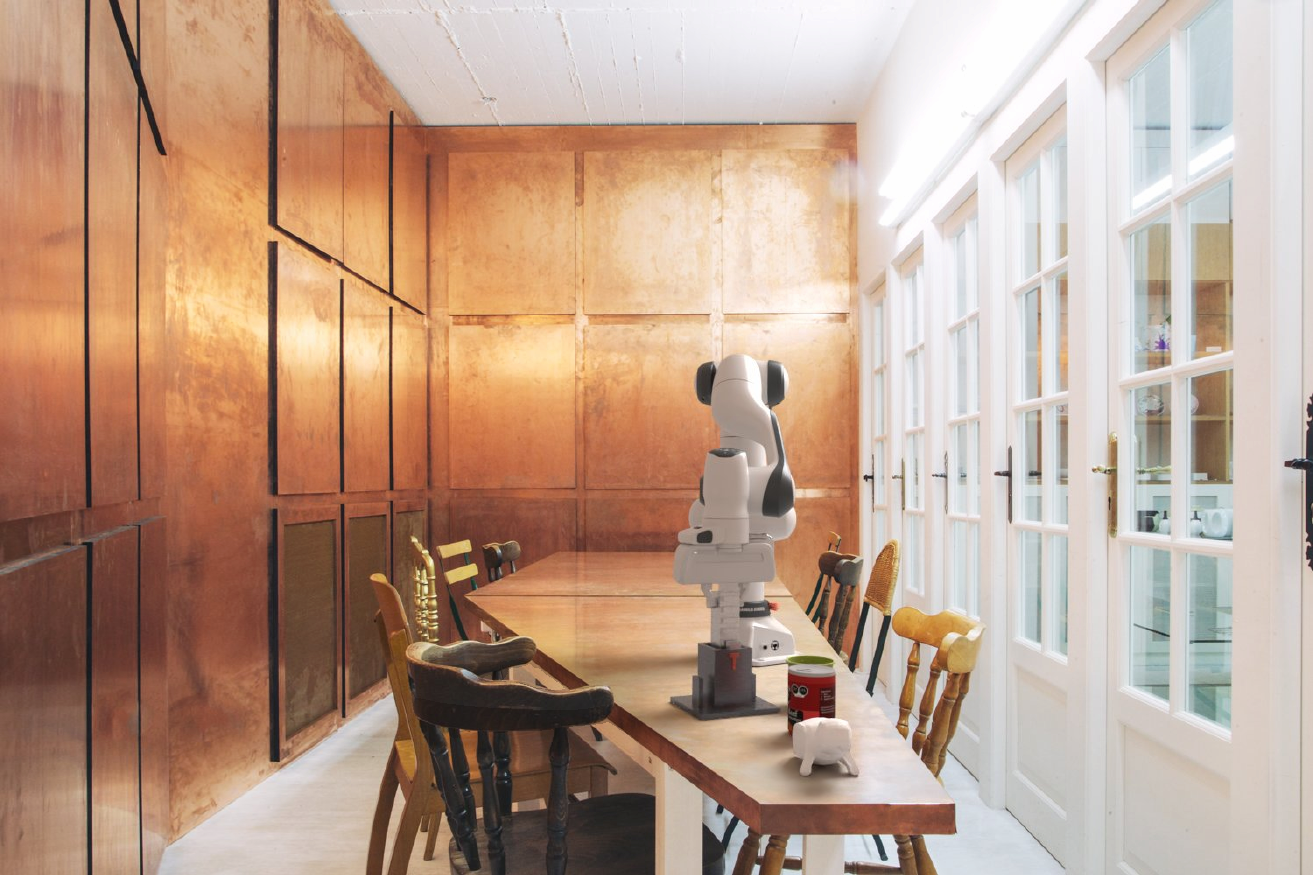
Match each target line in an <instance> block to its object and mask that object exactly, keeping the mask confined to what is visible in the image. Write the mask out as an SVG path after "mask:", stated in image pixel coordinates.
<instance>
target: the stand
mask: <svg viewBox="0 0 1313 875" xmlns="http://www.w3.org/2000/svg"><path fill="white" fill-rule="evenodd" d="M710 644H711V641H710V642H698V643H697V674H694V675H692V678H691V679H692V683H691V689H692V690H691V692H692V693H691V694H687V695H676V696H670V699H669V700H670V701H669V702H670V703H671V704H673V703H674V704H675V706H676V705H677V706H676V707H678V708H679V707H680V708H679V709H681V710H683V711H684V710H685V712H686V713H687V712H688V713H687V714H689V715H691V716H693V717H694V718H695V719H697V720H698V721H711V720H719V718H723V719H731V718H730V717H734V718H742V717H752V716H764V715H773V714H780V713H781V707H780V706H777V705H776V704H774V703H772V702H769V701H767V700H765V699H764V698H761V697H759V696H757V674H756V673H753V666H752V648H751V647H748V646H746V645H743V644H741V641H738V640H734V641H726V649H715V648H713V647H711V646H710ZM674 704H673V705H674Z"/></svg>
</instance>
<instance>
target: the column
mask: <svg viewBox="0 0 1313 875" xmlns="http://www.w3.org/2000/svg"><path fill="white" fill-rule="evenodd" d="M710 593H711V595H712V597H713V598H716V599H717V608H710V642H711V644H710V646H711V647H713V648H715V649H726V641H734V640H738V641H739V593H738V592H735V591H731V590H724V591H718V590H710Z"/></svg>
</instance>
